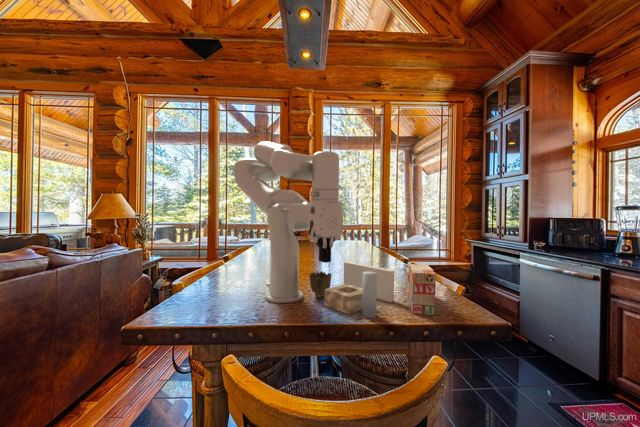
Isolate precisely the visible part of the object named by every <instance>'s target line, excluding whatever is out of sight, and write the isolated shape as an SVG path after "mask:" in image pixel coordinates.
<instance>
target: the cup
mask: <svg viewBox="0 0 640 427" xmlns="http://www.w3.org/2000/svg"><path fill="white" fill-rule="evenodd" d="M308 276H309V282H310V283H309V285H310V289H311V290H312V292H313V293H314V296H315V298H316V299H324V294H325V289H328V288H331V282H332V273H330V272H328V273H327V274H326V272H325V271H323V270H322V271H320V272H319V271H317V272H315V271H313V272H311V273H309V274H308Z"/></svg>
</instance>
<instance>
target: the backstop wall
mask: <svg viewBox="0 0 640 427" xmlns="http://www.w3.org/2000/svg"><path fill="white" fill-rule="evenodd" d="M367 271H370V272H376V273H377V299H378V300H381V301H384V302H388V303H393V302H394V301H395V270H393V269H387V268H382V267H378V266H372V265H366V264H361V263H357V262H356V263H355V262H351V261H345V262H343V284H349V285H353V286H357V287H360V288H363V272H367Z"/></svg>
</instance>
